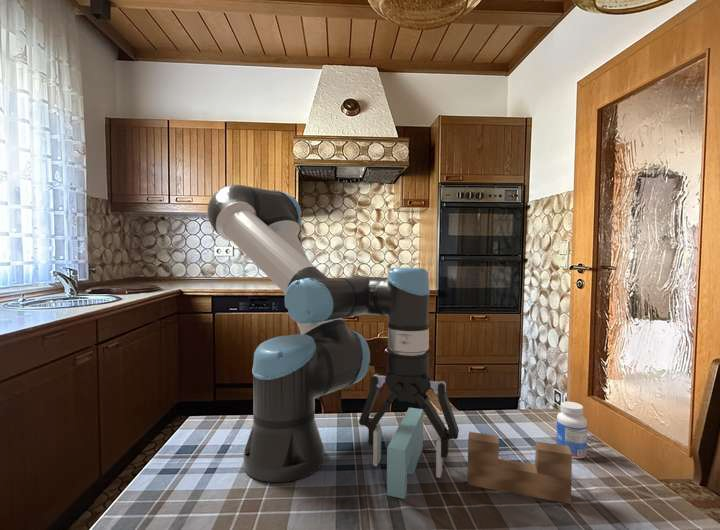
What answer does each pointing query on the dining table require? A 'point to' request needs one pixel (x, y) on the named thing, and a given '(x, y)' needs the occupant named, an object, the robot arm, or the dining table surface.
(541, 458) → the brown u-shaped block
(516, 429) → the dining table surface
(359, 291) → the robot arm
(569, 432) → the pill bottle
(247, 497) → the dining table surface
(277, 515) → the dining table surface
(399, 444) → the teal bridge block
